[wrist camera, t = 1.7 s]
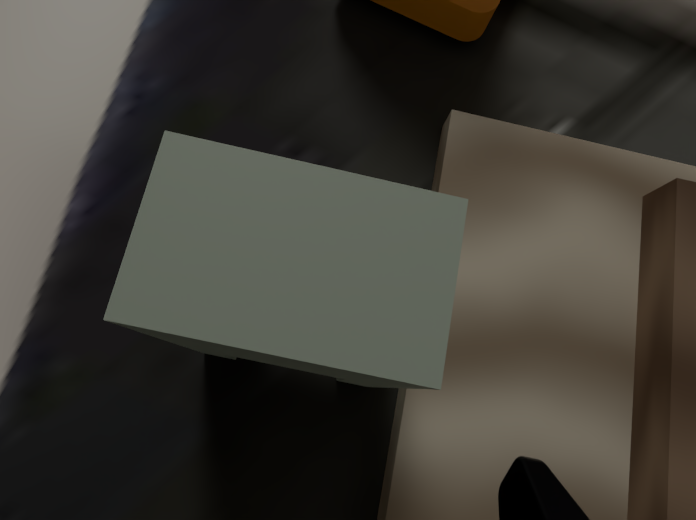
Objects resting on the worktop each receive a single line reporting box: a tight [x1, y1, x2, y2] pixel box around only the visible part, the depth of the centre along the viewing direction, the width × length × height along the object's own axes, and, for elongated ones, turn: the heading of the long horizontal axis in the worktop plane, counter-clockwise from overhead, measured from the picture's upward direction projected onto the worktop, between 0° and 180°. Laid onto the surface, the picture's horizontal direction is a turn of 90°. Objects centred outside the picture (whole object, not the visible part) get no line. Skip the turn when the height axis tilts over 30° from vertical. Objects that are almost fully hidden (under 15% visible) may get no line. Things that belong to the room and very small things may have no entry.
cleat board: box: [377, 110, 696, 520], centre depth 19 cm, size 20×19×4 cm
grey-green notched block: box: [103, 131, 468, 390], centre depth 15 cm, size 4×6×10 cm, turn 79°
